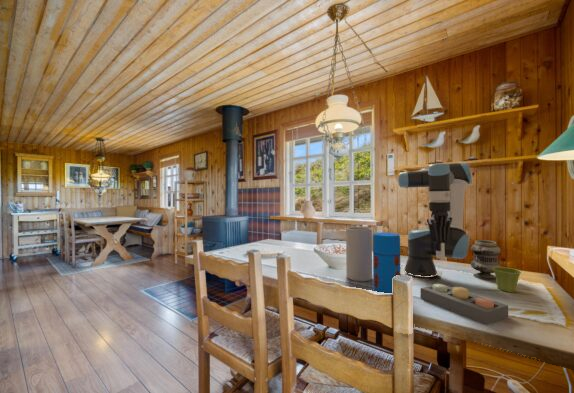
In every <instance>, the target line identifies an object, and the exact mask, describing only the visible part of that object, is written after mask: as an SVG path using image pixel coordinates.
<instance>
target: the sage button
mask: <svg viewBox="0 0 574 393" xmlns="http://www.w3.org/2000/svg"><path fill="white" fill-rule="evenodd" d="M442 284H443V283H434V284H432V285H433V290H436V291H439V292H442V293H443V292H447V286H448V285H446V284H443V285H442ZM445 285H446V286H445Z"/></svg>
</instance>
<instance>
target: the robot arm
mask: <svg viewBox="0 0 574 393" xmlns="http://www.w3.org/2000/svg"><path fill="white" fill-rule="evenodd" d="M470 168H471V167H470V164H469V163H468V162H460V161H459V162H455V163H454V162H453V163H433V164H429V165H428V166H425V167H422V168H420V170H412V171H402V172H399V173H398V178H397V183H398V186H399V187H400V188H406V189H408V188H428V201H429V202H428V210H429V211H430V212H431V214H430V217H429V219H428V218H427V219H426V223H427V225H428V228H425V229H423V228H422V229H413V230H410V231H408V233H407V261H406V264H405V266H404V272H405V271H406V272H407V273H411V274H413V275H421V276H431V275H436V274H437V275H438V270H437V268H436V265H435V263H434V256H435V257H436V259H439V260H445V259H446V258H450V259H459V260H463V259H466V257H467V256H468V251H469V249H470V248H469V247H470V240H471V239H470V235H468V234H467V232H466V230H465V229H464V228H463V226H464V225H463V224H464V208H465V191H466V190H467V188H468V187H469V185H470V184H472V183H473V180H472V174H471V169H470Z"/></svg>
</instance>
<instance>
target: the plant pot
mask: <svg viewBox="0 0 574 393" xmlns="http://www.w3.org/2000/svg"><path fill="white" fill-rule="evenodd" d="M493 270H494V273H493V274H495V275H494V276H496V280H495V282H496V285H497V287H496V288H497V289H498V290H500V291H503V292H507V293H515V292H517V286H518V281H519V277H520V274H522V271H521V270H518V269H516V268H511V267H507V266H506V267H504V266H501V267H494V268H493Z"/></svg>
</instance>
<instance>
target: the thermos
mask: <svg viewBox="0 0 574 393" xmlns="http://www.w3.org/2000/svg"><path fill="white" fill-rule="evenodd" d="M400 236H401V235H400V234H399V233H395V232H374V233H373V232H372V279H373V280H372V282H373V283H372V284H373V292H374V291H377V292H384V293H392V278H393V277H394V276H396V275H400V276H401V237H400Z"/></svg>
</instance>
